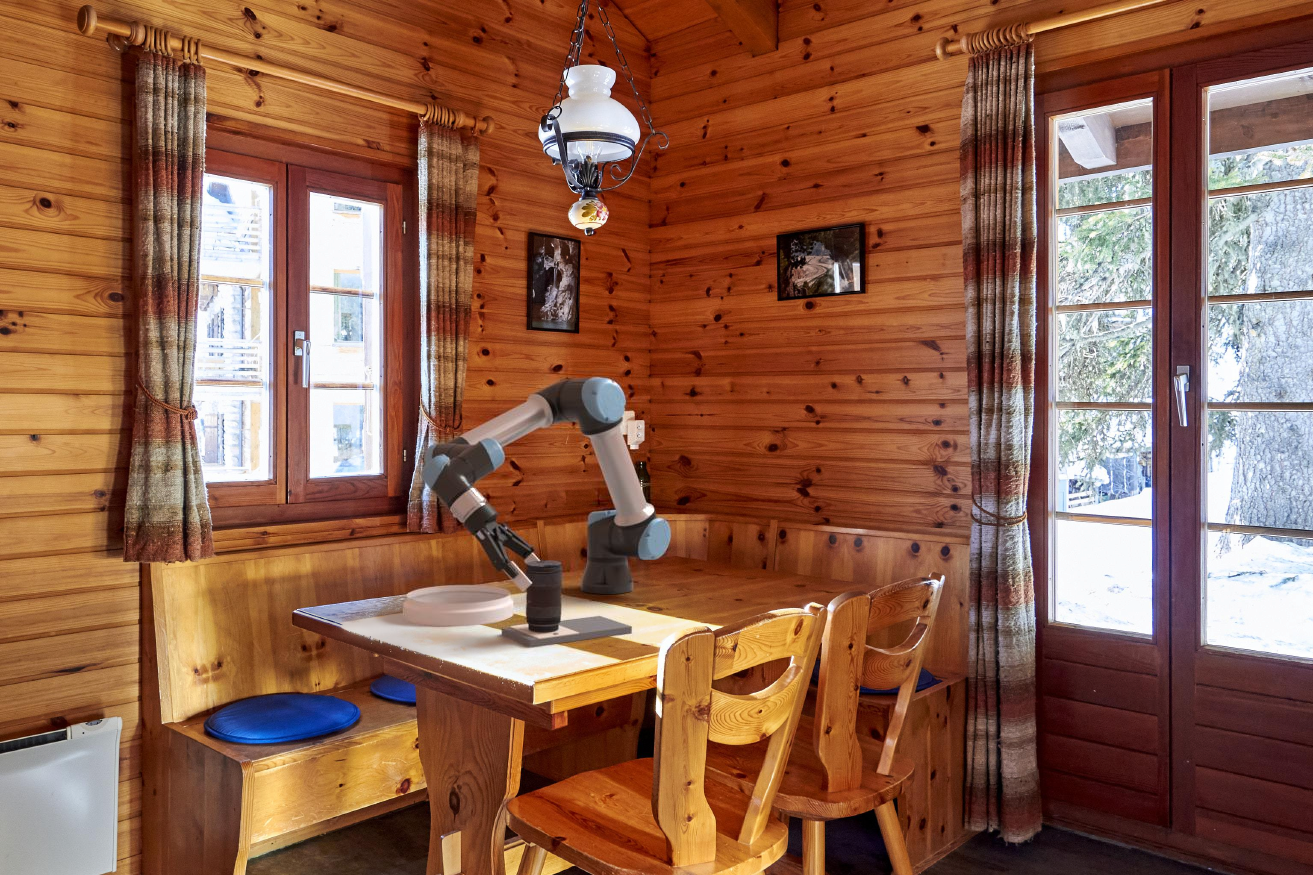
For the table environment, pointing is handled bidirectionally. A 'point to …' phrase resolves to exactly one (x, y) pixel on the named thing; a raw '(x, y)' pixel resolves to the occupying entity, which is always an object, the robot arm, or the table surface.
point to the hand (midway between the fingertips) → (537, 582)
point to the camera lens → (544, 596)
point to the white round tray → (458, 605)
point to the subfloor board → (568, 631)
